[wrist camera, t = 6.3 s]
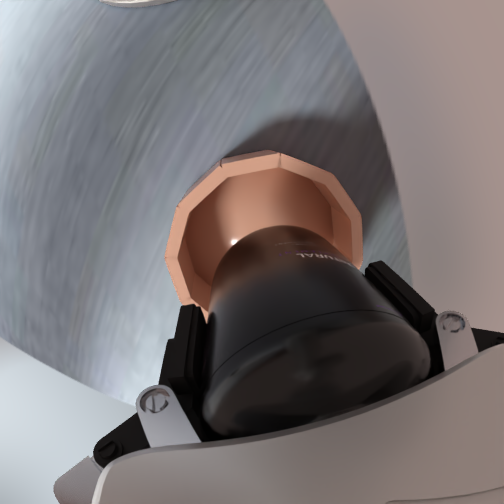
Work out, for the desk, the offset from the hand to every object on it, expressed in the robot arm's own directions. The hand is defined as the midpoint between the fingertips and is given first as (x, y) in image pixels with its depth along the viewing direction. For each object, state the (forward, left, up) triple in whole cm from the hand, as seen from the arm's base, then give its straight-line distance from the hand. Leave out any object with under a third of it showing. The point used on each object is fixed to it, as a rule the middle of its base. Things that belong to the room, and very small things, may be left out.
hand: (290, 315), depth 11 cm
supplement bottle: (0, 0, -3) cm, 3 cm away
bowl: (0, 0, -9) cm, 9 cm away
